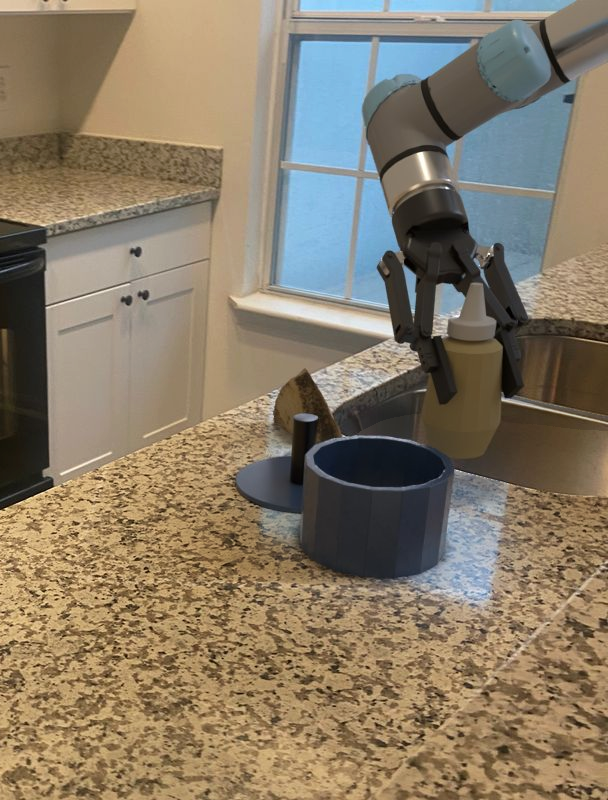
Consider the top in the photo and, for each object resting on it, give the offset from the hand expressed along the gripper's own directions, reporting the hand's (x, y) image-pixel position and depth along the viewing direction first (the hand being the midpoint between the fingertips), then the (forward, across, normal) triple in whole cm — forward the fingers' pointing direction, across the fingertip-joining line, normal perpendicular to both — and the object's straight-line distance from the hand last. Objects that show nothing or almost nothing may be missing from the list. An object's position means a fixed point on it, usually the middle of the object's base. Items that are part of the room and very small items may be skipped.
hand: (481, 395), depth 104 cm
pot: (+14, +14, -4) cm, 20 cm away
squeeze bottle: (+3, 0, -8) cm, 8 cm away
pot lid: (+2, +16, -14) cm, 21 cm away
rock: (-8, +9, -26) cm, 28 cm away
